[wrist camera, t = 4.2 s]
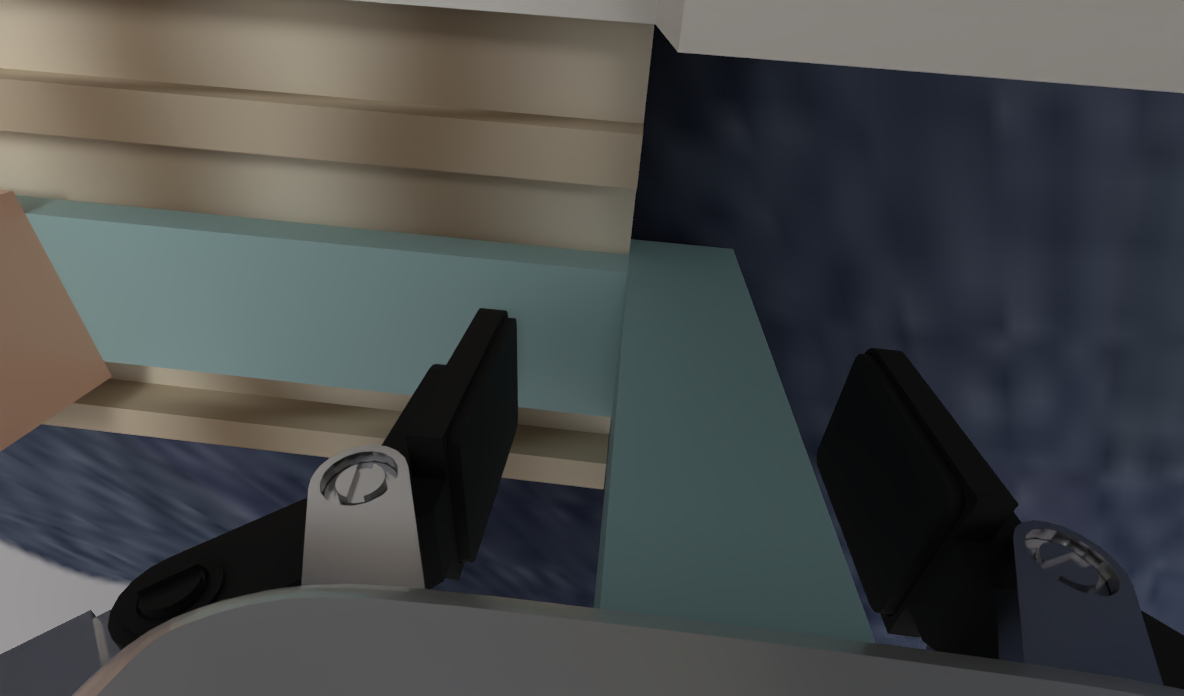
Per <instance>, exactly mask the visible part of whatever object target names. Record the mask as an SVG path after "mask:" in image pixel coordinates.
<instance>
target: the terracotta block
mask: <svg viewBox="0 0 1184 696" xmlns="http://www.w3.org/2000/svg"><path fill="white" fill-rule="evenodd" d="M111 377H112V376H111V374H110V372H109V370H108V368H107V366H106V364H105V362H104V361H103V359H102V357H101V355H100V353H99V351H98V349H97V347H96V346H95V344H94V342H93V340H92V338H91V336H90V334H89V332H88V331H87V329H86V327H85V325H84V323H83V321H82V319H81V317H80V316H79V314H78V312H77V310H76V308H75V306H74V304H73V302H72V301H71V299H70V297H69V295H68V293H67V291H66V289H65V287H64V286H63V284H62V282H61V280H60V278H59V276H58V274H57V272H56V271H55V269H54V267H53V265H52V263H51V261H50V259H49V257H48V255H47V254H46V252H45V250H44V248H43V246H42V244H41V242H40V240H39V239H38V237H37V235H36V233H35V231H34V229H33V227H32V225H31V224H30V222H29V220H28V218H27V216H26V214H25V212H24V210H23V209H22V207H21V205H20V203H19V201H18V199H17V197H16V195H15V194H14V192H13V191H8V190H0V451H2V450H3V449H5V448H6V447H8V446H9V445H11V444H12V443H14V442H15V441H17V440H18V439H20V438H21V437H23V436H24V435H26V434H27V433H29V432H30V431H32V430H33V429H35V428H36V427H38V426H39V425H41V424H42V423H44V422H45V421H47V420H48V419H50V418H51V417H53V416H54V415H55V414H57V413H58V412H60V411H61V410H63V409H64V408H66V407H67V406H69V405H70V404H72V403H73V402H75V401H76V400H78V399H79V398H81V397H82V396H84V395H85V394H87V393H88V392H90V391H91V390H93V389H94V388H96V387H97V386H99V385H100V384H102V383H103V382H105V381H106V380H108V379H109V378H111Z"/></svg>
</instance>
